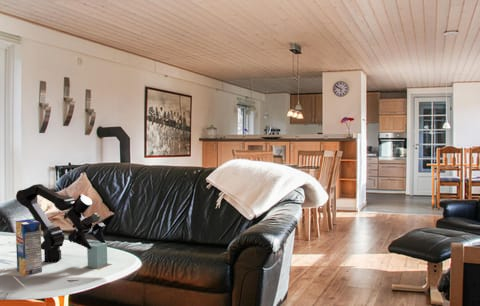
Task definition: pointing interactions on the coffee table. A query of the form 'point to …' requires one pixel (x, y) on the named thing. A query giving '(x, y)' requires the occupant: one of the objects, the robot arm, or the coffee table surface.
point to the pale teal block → (97, 255)
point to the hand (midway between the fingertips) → (97, 246)
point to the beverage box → (28, 246)
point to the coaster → (98, 268)
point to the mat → (72, 280)
